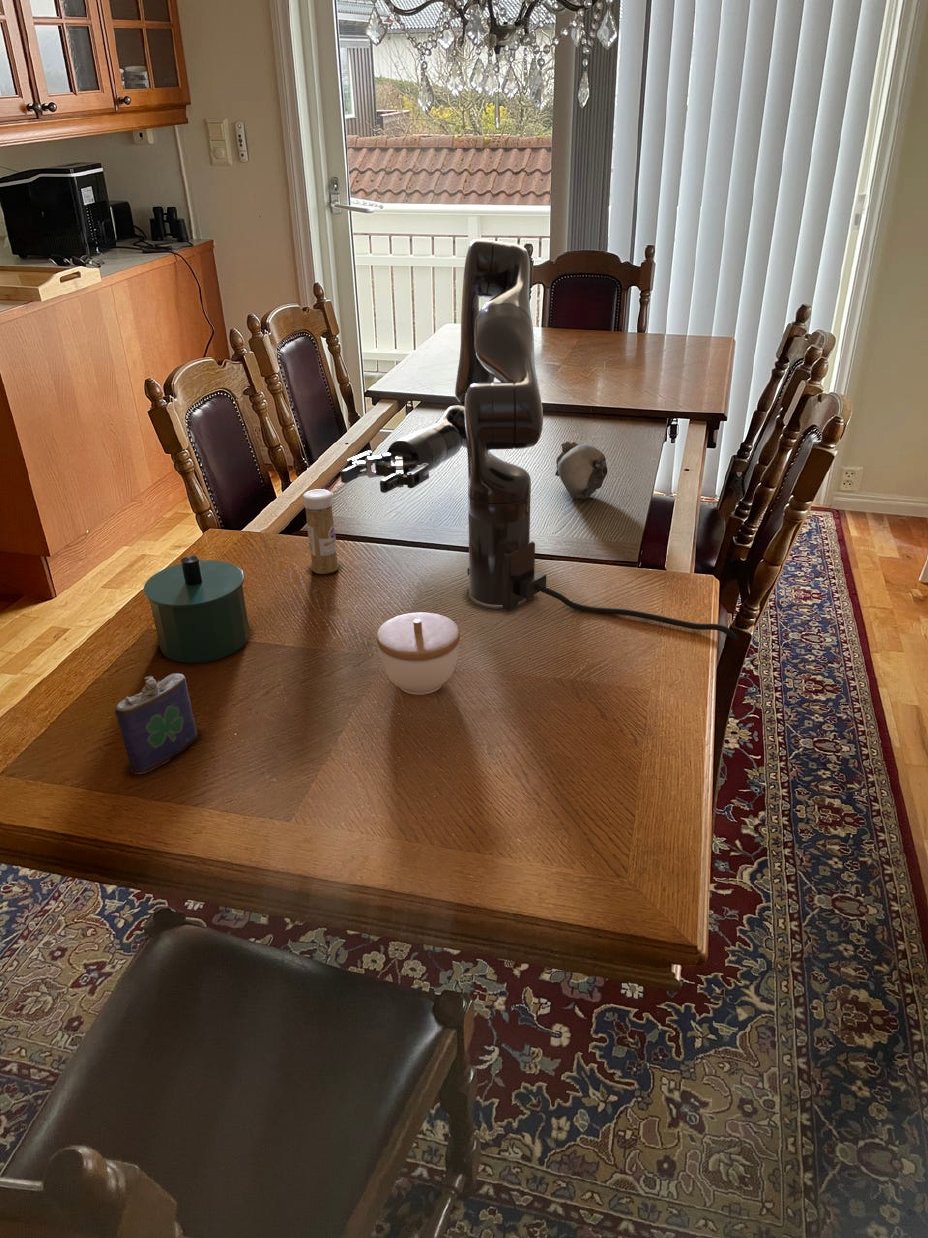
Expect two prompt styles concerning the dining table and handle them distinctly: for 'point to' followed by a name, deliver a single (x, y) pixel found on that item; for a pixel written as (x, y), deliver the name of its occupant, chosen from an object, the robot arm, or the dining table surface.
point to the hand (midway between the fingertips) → (361, 482)
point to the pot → (202, 629)
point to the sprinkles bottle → (321, 530)
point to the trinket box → (419, 651)
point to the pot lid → (193, 583)
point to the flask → (156, 723)
